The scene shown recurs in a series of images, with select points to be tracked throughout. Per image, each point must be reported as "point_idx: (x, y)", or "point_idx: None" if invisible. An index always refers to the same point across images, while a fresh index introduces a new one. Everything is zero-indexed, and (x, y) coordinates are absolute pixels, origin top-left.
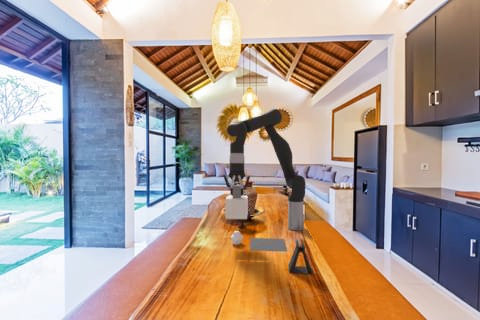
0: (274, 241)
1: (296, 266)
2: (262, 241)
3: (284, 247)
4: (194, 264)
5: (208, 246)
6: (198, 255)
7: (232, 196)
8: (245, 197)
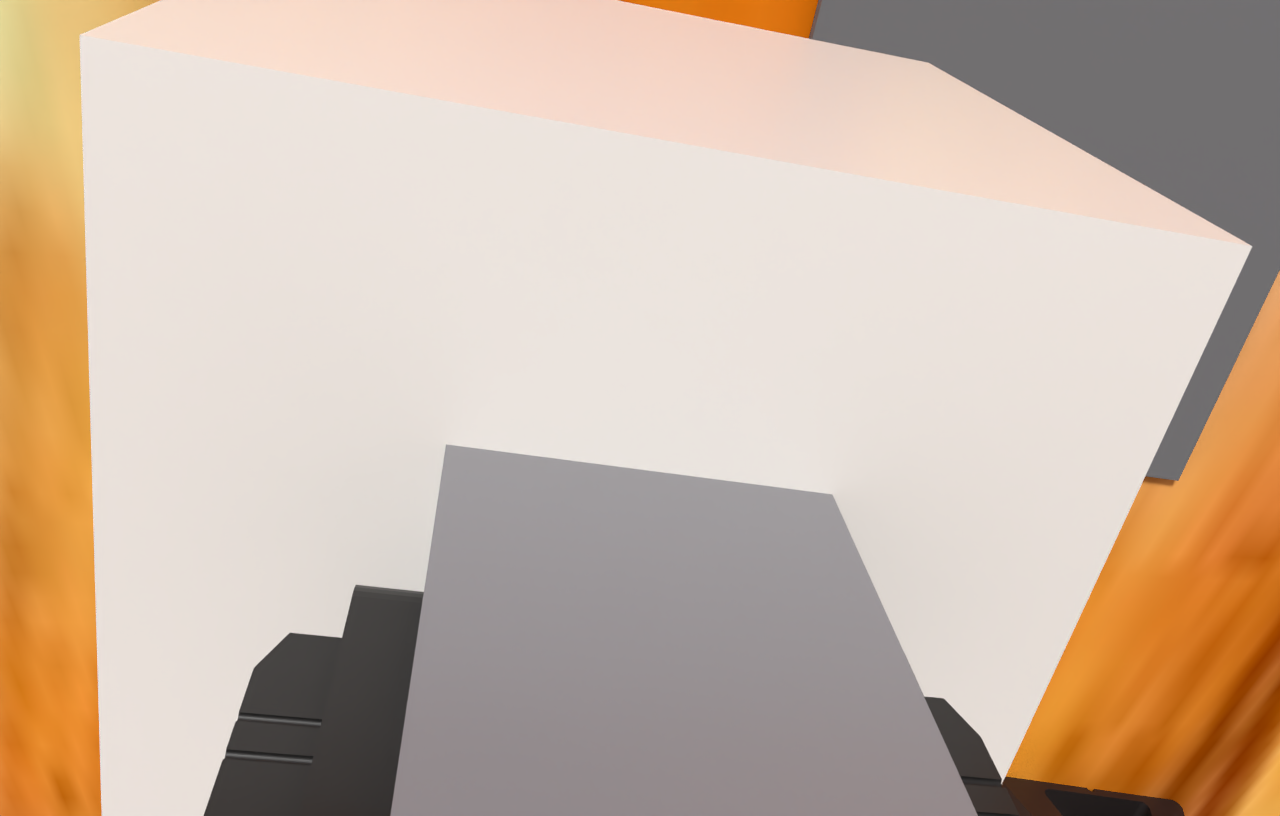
0: (1197, 99)
1: (1067, 796)
2: (1006, 79)
3: (1210, 359)
4: (40, 713)
5: (80, 184)
6: (14, 500)
7: (391, 421)
8: (973, 676)
